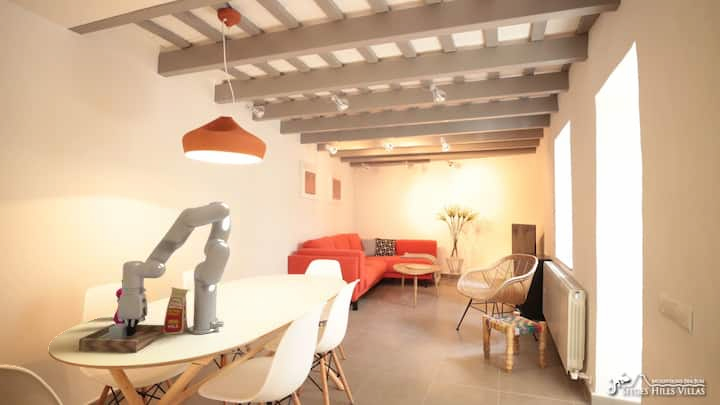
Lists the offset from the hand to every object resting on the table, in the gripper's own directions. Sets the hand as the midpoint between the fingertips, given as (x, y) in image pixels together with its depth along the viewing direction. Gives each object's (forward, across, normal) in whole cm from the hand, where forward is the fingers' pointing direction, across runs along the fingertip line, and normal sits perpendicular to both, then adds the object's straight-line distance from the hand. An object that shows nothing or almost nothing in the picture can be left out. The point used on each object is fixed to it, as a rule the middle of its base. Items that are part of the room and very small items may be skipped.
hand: (131, 335), depth 141 cm
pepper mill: (+4, +16, -18) cm, 24 cm away
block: (+1, +5, 0) cm, 5 cm away
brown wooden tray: (+3, +3, 0) cm, 4 cm away
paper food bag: (+3, -11, -16) cm, 19 cm away
